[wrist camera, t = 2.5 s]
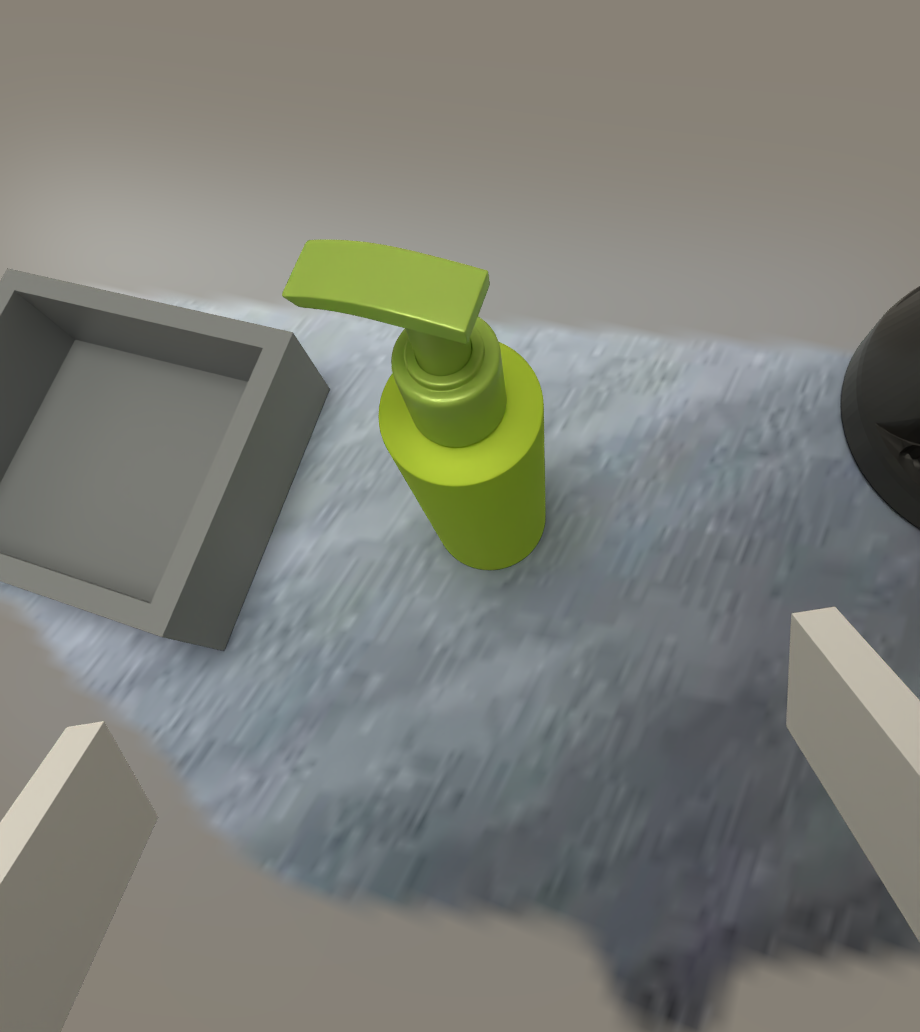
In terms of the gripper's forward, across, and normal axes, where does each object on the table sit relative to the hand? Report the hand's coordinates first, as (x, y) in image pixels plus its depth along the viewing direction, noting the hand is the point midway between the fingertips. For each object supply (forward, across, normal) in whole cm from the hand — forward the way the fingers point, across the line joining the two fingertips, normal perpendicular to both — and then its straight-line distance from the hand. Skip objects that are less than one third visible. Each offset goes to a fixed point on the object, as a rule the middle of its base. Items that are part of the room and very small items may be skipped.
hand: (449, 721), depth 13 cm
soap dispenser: (+23, 0, -7) cm, 24 cm away
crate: (+27, -19, -3) cm, 33 cm away
